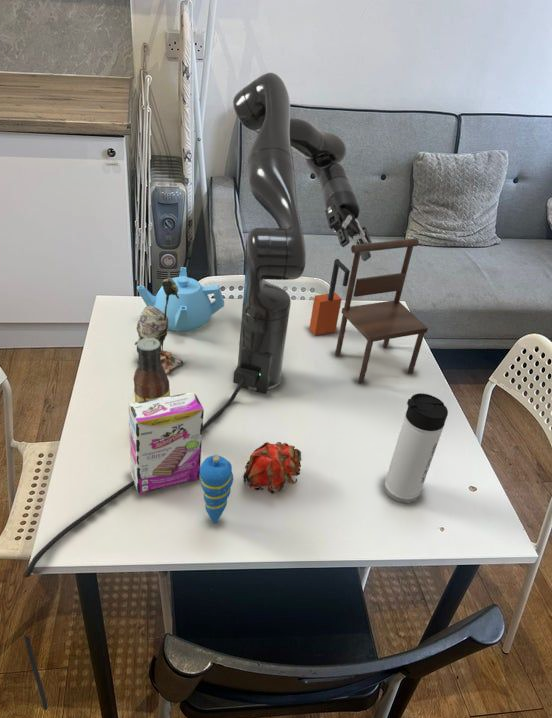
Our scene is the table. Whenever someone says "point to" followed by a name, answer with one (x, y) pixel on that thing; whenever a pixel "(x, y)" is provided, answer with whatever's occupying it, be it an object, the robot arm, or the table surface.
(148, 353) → the sauce bottle
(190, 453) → the candy bar box
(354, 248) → the chair
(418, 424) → the travel mug
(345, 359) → the table surface
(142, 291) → the teapot
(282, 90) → the robot arm
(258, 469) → the dragon fruit
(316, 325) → the orange open padlock
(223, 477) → the ornament
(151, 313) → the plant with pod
